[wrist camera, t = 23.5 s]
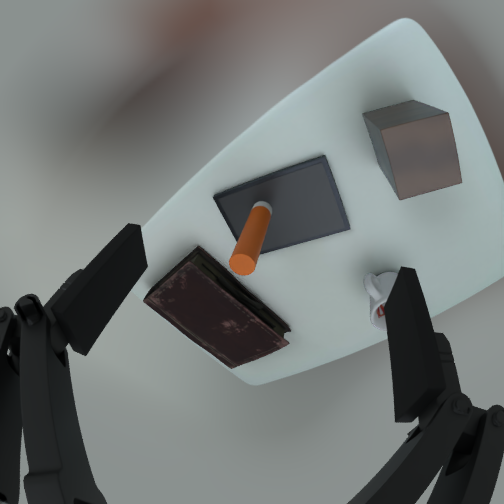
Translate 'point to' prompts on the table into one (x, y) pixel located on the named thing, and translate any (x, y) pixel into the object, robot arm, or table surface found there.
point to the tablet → (288, 204)
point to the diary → (216, 311)
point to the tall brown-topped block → (414, 147)
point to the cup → (379, 296)
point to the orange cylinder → (251, 239)
